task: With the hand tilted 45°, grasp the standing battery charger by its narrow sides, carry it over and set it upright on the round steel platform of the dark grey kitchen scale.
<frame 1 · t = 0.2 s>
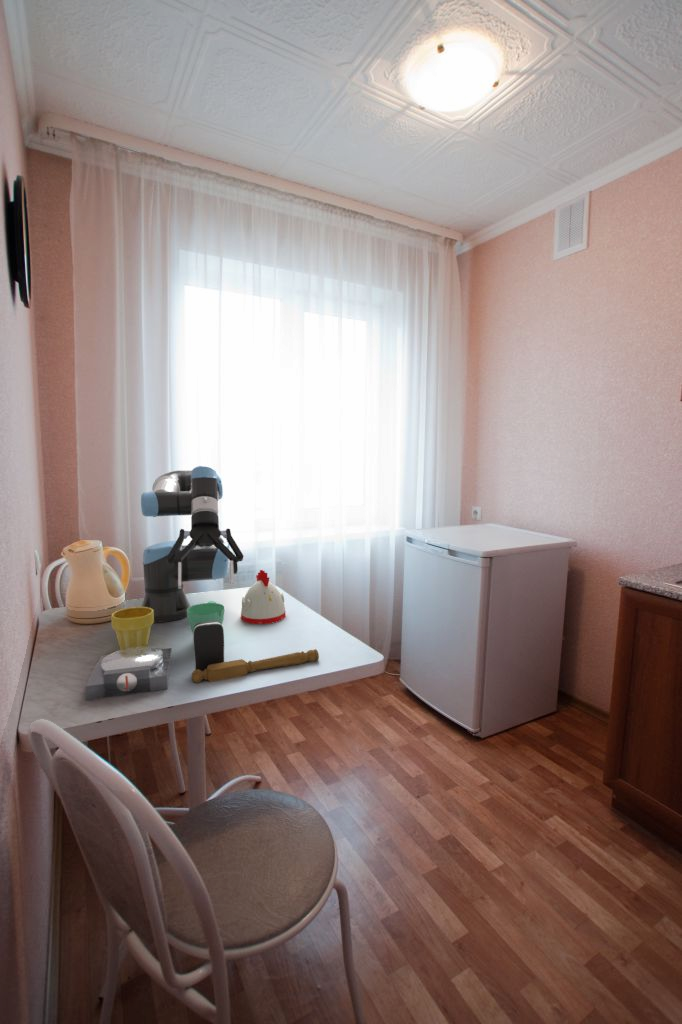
hand: (206, 586, 128), 16 cm above the table, tool tilted 35°, fingers open, 13 cm apart
plant pot: (134, 648, 127), on the table
scale: (133, 677, 109), on the table
battery charger: (209, 669, 114), on the table
turned wooden baluster: (257, 672, 113), on the table
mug: (208, 641, 131), on the table
kitchen timer: (263, 617, 151), on the table
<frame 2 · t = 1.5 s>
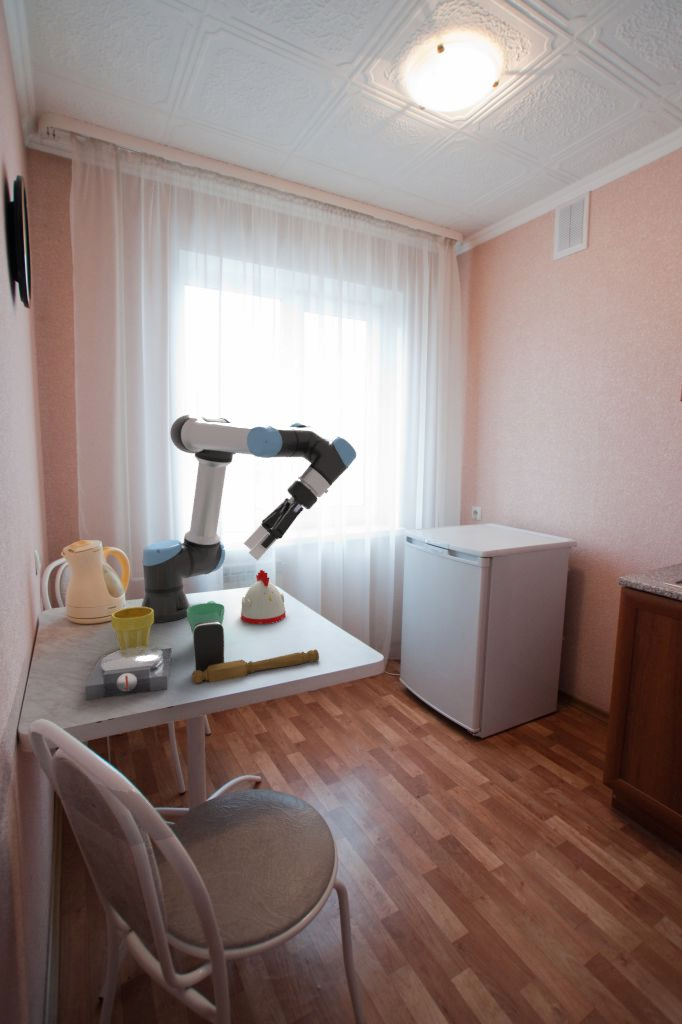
hand: (250, 551, 118), 27 cm above the table, tool tilted 45°, fingers open, 13 cm apart
nothing on the table moved.
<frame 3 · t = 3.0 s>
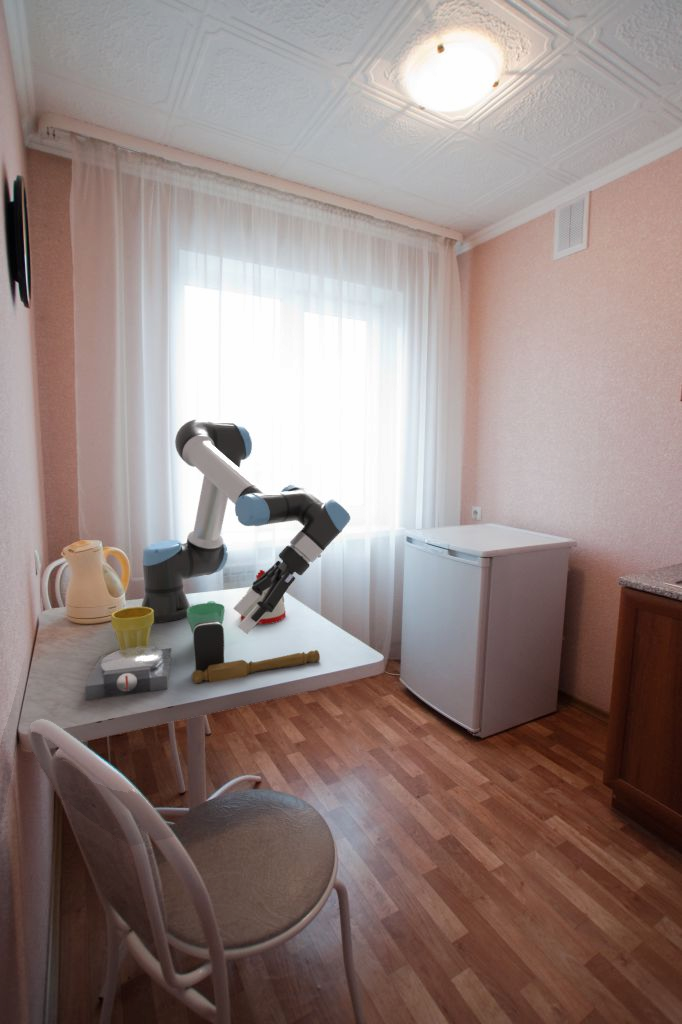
hand: (239, 620, 114), 11 cm above the table, tool tilted 45°, fingers open, 13 cm apart
nothing on the table moved.
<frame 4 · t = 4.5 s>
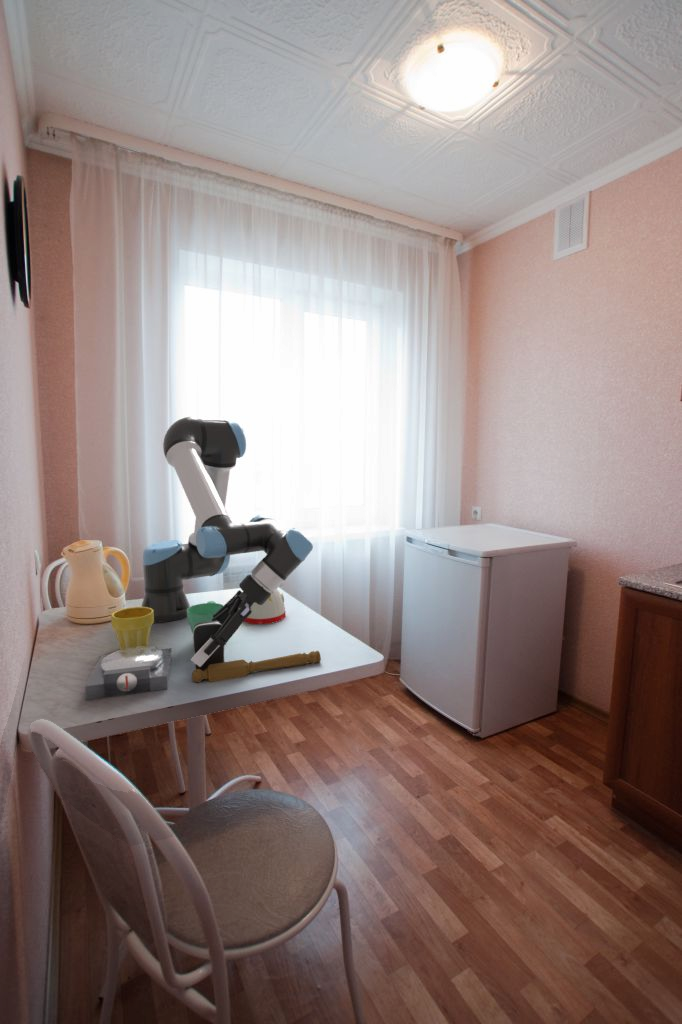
hand: (195, 653, 112), 4 cm above the table, tool tilted 45°, fingers open, 10 cm apart
turned wooden baluster: (258, 673, 112), on the table, touching gripper
everything else where it was.
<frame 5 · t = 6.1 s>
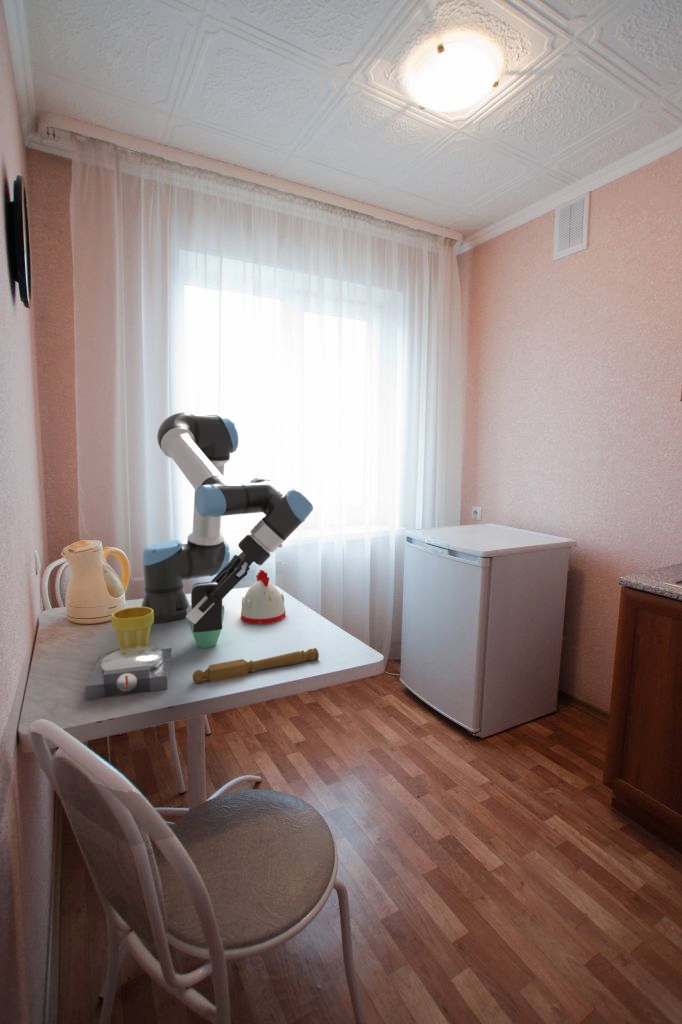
hand: (190, 616, 111), 13 cm above the table, tool tilted 45°, fingers closed on battery charger, 4 cm apart
battery charger: (207, 629, 113), point 9 cm above the table, touching gripper
turned wooden baluster: (258, 672, 113), on the table
everything else where it was.
when the fingers open (9 cm above the table, at t = 8.7 s): battery charger drops 1 cm, resting on scale.
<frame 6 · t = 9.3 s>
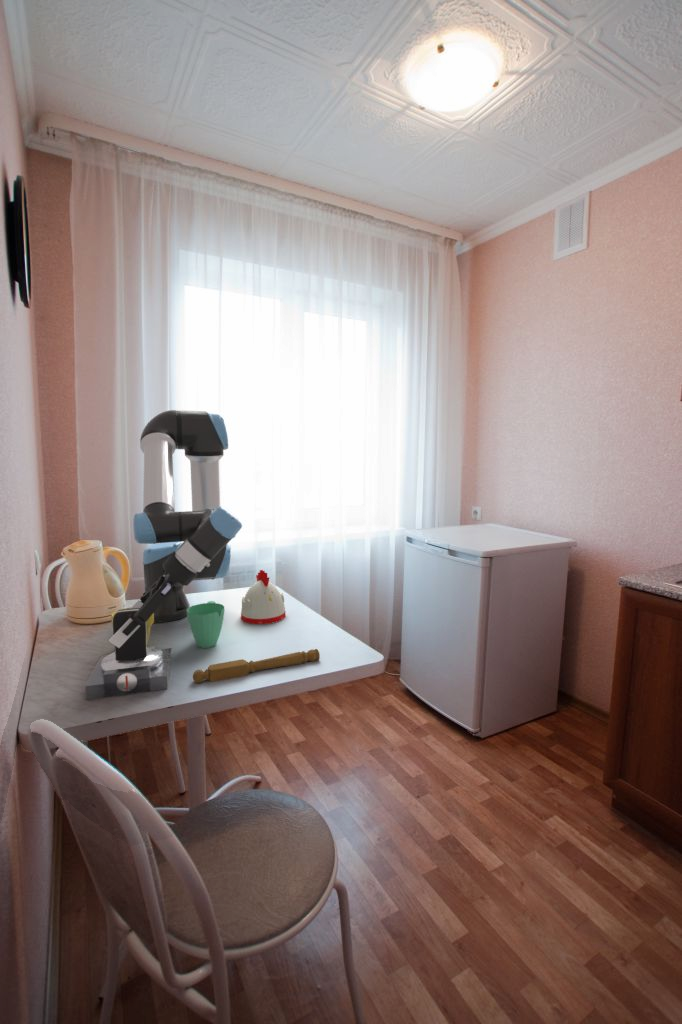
hand: (119, 633, 108), 10 cm above the table, tool tilted 45°, fingers open, 12 cm apart
battery charger: (132, 658, 110), point 4 cm above the table, touching scale
everything else where it was.
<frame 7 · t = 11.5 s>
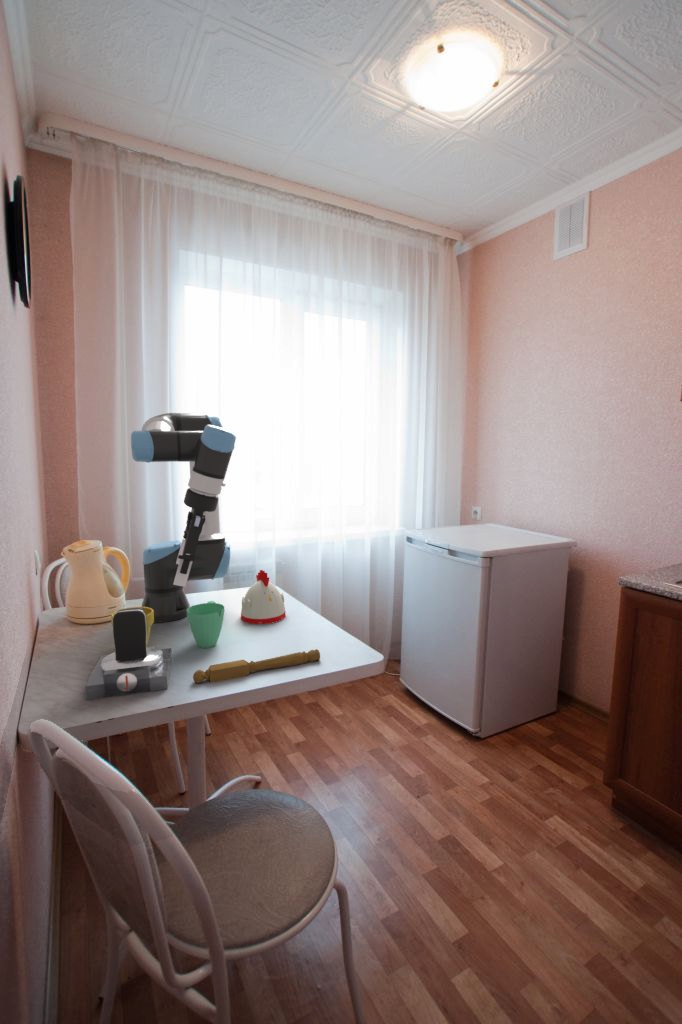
hand: (180, 574, 115), 22 cm above the table, tool tilted 20°, fingers open, 13 cm apart
nothing on the table moved.
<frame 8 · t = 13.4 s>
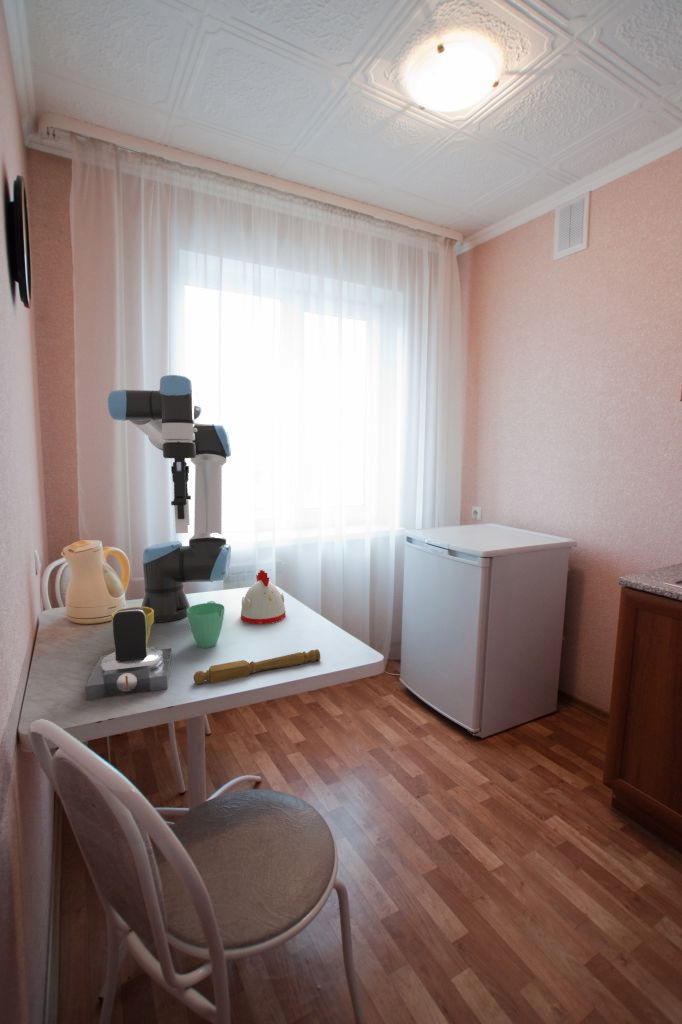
hand: (183, 528, 117), 33 cm above the table, tool pointing down, fingers open, 13 cm apart
nothing on the table moved.
at the end: battery charger inside the target area on the scale (0.1 cm from its centre), point 4.3 cm above the scale's base; battery charger tilted 0°; the gripper is holding nothing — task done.
